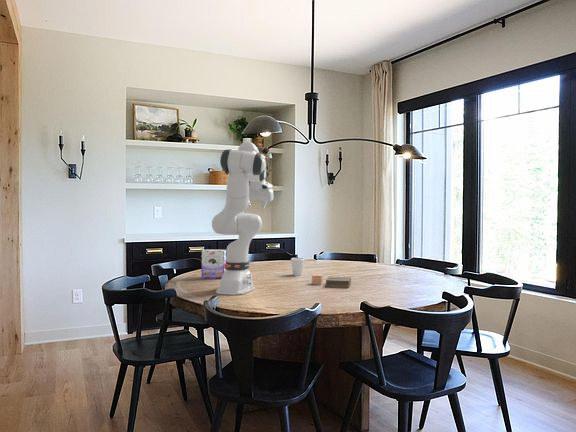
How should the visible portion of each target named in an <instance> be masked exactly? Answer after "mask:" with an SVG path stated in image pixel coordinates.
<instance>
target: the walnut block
mask: <svg viewBox="0 0 576 432" xmlns="http://www.w3.org/2000/svg"><path fill="white" fill-rule="evenodd" d="M351 284H352V277H351V276H332V275H331V276H328V277H327V279H325V287H326V288H339V289H341V288H345V289H350V287H351Z"/></svg>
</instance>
